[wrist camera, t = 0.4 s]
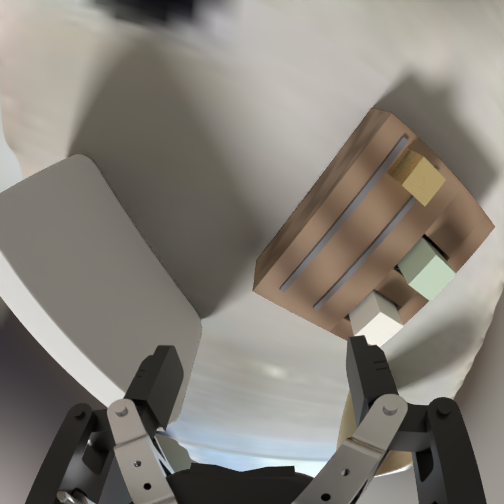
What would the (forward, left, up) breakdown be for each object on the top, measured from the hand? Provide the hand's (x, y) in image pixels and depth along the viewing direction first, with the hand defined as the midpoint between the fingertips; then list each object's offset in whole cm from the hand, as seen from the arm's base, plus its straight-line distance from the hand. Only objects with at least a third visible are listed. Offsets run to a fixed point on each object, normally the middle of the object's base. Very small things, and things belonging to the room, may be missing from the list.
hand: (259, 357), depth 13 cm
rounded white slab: (+16, -11, -23) cm, 30 cm away
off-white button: (+3, +16, -18) cm, 25 cm away
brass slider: (-11, +8, -16) cm, 21 cm away
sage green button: (-5, +16, -18) cm, 25 cm away
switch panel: (-3, +12, -22) cm, 25 cm away
